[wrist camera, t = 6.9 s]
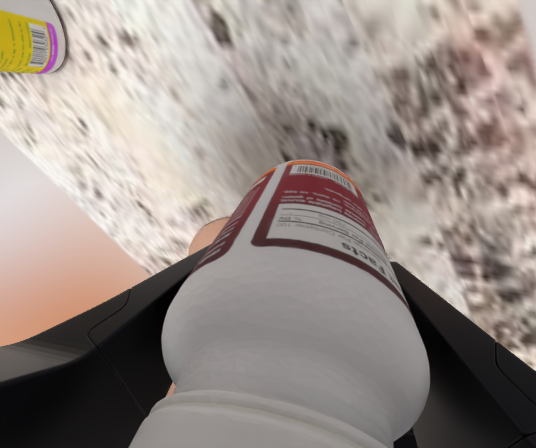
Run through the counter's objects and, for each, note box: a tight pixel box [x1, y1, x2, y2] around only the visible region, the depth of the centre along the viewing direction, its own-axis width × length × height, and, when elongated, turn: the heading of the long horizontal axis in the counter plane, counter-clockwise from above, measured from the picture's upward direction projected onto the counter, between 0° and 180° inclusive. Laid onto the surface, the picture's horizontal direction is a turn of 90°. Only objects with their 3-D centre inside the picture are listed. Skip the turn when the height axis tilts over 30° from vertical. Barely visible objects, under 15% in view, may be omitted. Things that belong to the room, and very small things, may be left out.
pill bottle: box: [129, 160, 430, 448], centre depth 8 cm, size 6×6×11 cm
